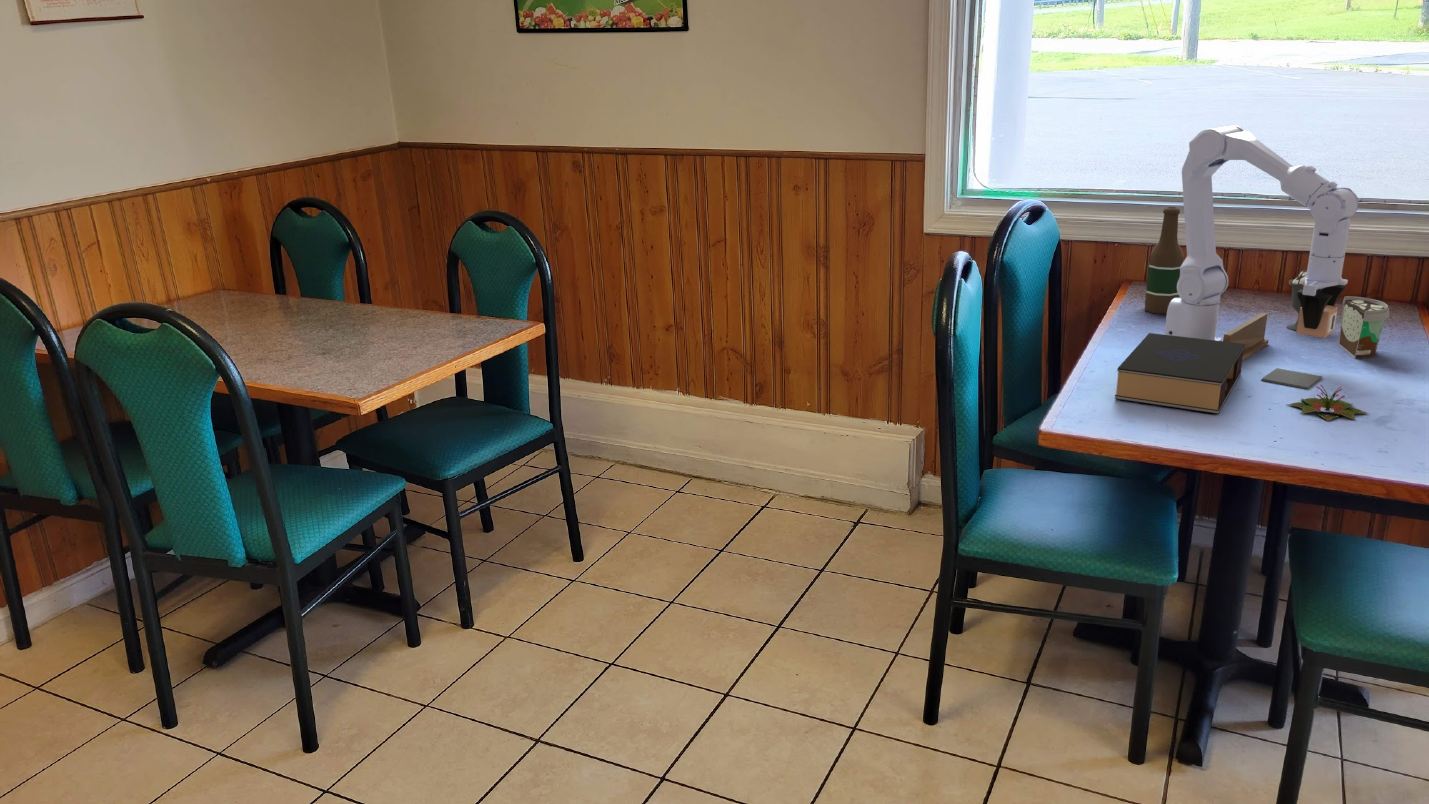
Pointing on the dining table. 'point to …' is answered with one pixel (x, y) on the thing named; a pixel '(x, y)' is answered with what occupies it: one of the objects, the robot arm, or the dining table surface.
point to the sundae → (1296, 286)
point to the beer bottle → (1164, 266)
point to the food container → (1362, 325)
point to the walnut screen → (1249, 335)
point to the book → (1180, 372)
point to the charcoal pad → (1291, 378)
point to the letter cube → (1325, 323)
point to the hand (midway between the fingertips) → (1315, 324)
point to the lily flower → (1328, 406)
